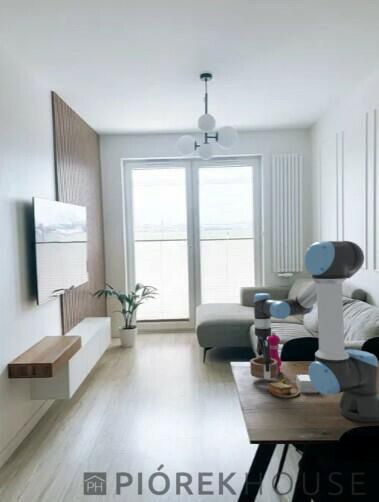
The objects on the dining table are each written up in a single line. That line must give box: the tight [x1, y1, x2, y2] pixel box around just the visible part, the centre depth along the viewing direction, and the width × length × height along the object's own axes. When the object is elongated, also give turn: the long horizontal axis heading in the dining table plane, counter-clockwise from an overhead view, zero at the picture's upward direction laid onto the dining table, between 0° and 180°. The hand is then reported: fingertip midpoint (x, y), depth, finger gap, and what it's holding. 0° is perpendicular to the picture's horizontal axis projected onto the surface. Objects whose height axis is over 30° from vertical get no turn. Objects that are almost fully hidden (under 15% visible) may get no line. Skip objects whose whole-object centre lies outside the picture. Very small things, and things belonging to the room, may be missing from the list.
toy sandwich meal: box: [268, 378, 301, 399], centre depth 159 cm, size 12×14×5 cm
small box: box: [296, 374, 319, 394], centre depth 163 cm, size 8×8×5 cm
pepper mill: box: [267, 331, 282, 374], centre depth 184 cm, size 7×7×20 cm
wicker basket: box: [249, 357, 279, 380], centre depth 172 cm, size 12×12×6 cm
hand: (264, 373), depth 172 cm, fingers closed on wicker basket, 12 cm apart
